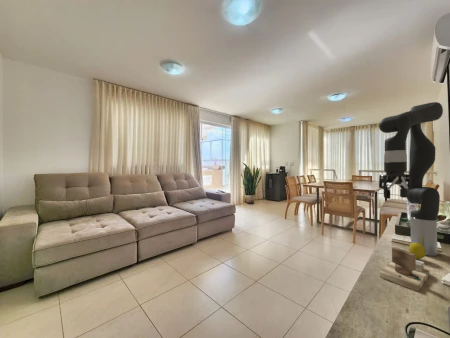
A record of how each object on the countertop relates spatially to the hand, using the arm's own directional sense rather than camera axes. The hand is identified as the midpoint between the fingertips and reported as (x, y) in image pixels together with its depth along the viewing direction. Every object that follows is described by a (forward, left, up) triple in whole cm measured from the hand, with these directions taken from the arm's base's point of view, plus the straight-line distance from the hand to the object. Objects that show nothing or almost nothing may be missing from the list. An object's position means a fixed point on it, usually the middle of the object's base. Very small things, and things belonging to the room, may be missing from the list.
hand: (395, 197), depth 84 cm
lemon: (-15, +4, -30) cm, 34 cm away
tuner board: (+7, +4, -30) cm, 31 cm away
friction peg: (+9, +5, -28) cm, 30 cm away
